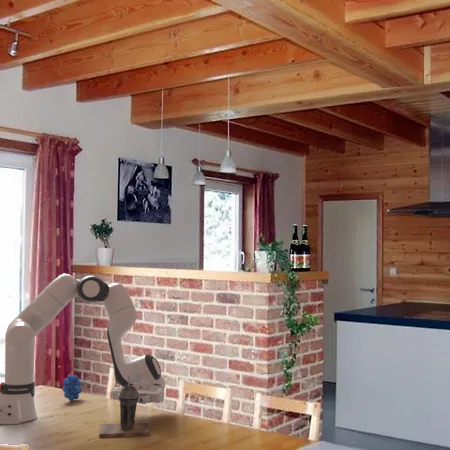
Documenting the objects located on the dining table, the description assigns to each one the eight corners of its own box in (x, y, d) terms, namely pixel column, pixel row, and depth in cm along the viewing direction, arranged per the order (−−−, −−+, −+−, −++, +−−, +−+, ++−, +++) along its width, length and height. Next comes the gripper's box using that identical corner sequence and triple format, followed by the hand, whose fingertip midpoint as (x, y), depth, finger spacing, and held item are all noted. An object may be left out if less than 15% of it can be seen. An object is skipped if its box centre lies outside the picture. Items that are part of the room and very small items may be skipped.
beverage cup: (140, 426, 252) (143, 374, 251) (129, 432, 245) (133, 378, 244) (124, 422, 255) (127, 370, 254) (113, 428, 248) (116, 374, 247)
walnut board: (99, 437, 242) (99, 434, 242) (99, 427, 255) (99, 424, 255) (149, 435, 245) (149, 432, 245) (147, 425, 258) (147, 422, 259)
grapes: (69, 404, 292) (70, 377, 292) (58, 403, 295) (58, 375, 296) (88, 399, 302) (88, 373, 302) (76, 398, 305) (77, 371, 306)
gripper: (119, 382, 272) (105, 389, 258) (167, 385, 266) (155, 392, 253) (119, 398, 271) (104, 405, 258) (167, 401, 266) (154, 409, 253)
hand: (130, 399), depth 255 cm, fingers open, 8 cm apart
